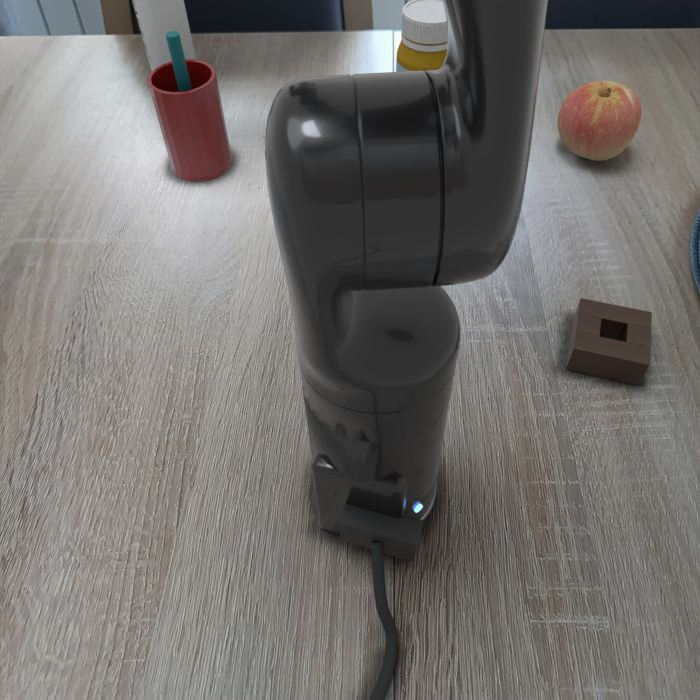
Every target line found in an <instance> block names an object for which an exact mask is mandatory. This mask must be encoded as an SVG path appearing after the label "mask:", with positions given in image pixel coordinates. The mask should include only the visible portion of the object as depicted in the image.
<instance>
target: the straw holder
mask: <svg viewBox="0 0 700 700" xmlns="http://www.w3.org/2000/svg"><path fill="white" fill-rule="evenodd" d="M652 322H653V312H652V311H648V310H643V309H638V308H633V307H628V306H623V305H618V304H613V303H608V302H603V301H598V300H594V299H588V298H583V297H581V298H580V299H579V302H578V304H577V307H576V310H575V313H574V315H573V318H572V322H571V331H570V336H569V337H570V338H569V343H568V352H567V358H566V365H565V370H566V371H571V372H576V373H579V374H585V375H589V376H594V377H597V378H601V379H608V380H611V381H616V382H621V383H625V384H630V385H632V386H633V385H634V386H640V384H641V382H642V380H643V378H644V377H645V375H646V373H647V371H648V369H649V368H650V365H651V350H652V349H651V347H652V326H653V325H652Z"/></svg>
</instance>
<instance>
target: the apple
mask: <svg viewBox="0 0 700 700" xmlns="http://www.w3.org/2000/svg"><path fill="white" fill-rule="evenodd" d="M641 119H642V104H641V100H640V98H639V97H638V95H637V94H636V93H635V92H634V91H633V90H632V89H631V88H630V87H628V86H627V85H624V84H621V83H618V82H616V81H612V80H596V81H591V82H588V83H585V84H583V85H580V86H578V87H577V88H575V89H574V90H572V91H571V92H570V93H569V94H568V95H567V96H566V98H565V99H564V101H563V102H562V104H561V105H560V108H559V112H558V115H557V132H558V135H559V139H560V141H561V142H562V144H563V145H564V147H565V148H566V150H567V149H568V151H570V152H571V153H573V154H574V155H577V157H580V158H583V159H587V160H590V161H597V162H603V161H604V162H605V161H608V160H611V159H613V158H615V157H616V156H618V155H619V154H621V153H622V152H623V151H624V150H625V149H626V148H627V147H628V146H629V145H630V143H631V142H632V140H633V139H634V137H635V135H636V133H637V132H638V129H639V126H640V123H641Z"/></svg>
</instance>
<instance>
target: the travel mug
mask: <svg viewBox="0 0 700 700" xmlns="http://www.w3.org/2000/svg"><path fill="white" fill-rule="evenodd" d="M131 1H132V5H133V8H134V12H135V15H136V20H137V22H138V27H139V30H140V35H141V38H142V41H143V45H144V50H145V53H146V56H147V61H148V64H149V67H150V71H151V72H152V71H153V70H154V69H155V68H157V67H159V66H161V65H163V64H165V63H168V62H171V61H172V60H171V56H170V52H169V48H168V44H167V39H166V33H167V32H169V31H178V32H179V34H180V39H181V43H182V48H183V52H184V56H185V60H186V59H193V60H197V57H196V52H195V47H194V42H193V38H192V34H191V28H190V23H189V19H188V13H187V9H186V4H185V0H131Z"/></svg>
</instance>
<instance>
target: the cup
mask: <svg viewBox="0 0 700 700" xmlns="http://www.w3.org/2000/svg"><path fill="white" fill-rule="evenodd" d="M185 61H186V65H187V70H188V74H189V79H190V83H191V87H192V90H189V91H184V92H179V89H178V85H177V81H176V76H175V72H174V68H173V64H172V61H171V62H168V63H165V64H163V65H161V66H159V67H157V68H155V69H154V70H153V71H151V72H150V73H149V74H148V77H147V84H148V85H147V86H148V88H149V91H150V96H151V99H152V103H153V106H154V109H155V113H156V117H157V121H158V124H159V128H160V131H161V135H162V138H163V142H164V145H165V150H166V152H167V156H168V160H169V163H170V167H171V170H172V172H173V174H174V175H175V176H176V177H178V178H179V179H182V180H184V181H188V182H206V181H209V180H210V181H211V180H213V179H216V178H218V177H220V176H222V175H224V174H225V173H226V172H227V171H228V170H229V169H230V168H231V166H232V164H233V163H232V162H233V158H232V151H231V145H230V140H229V135H228V129H227V125H226V119H225V115H224V109H223V104H222V98H221V94H220V88H219V83H218V78H217V73H216V70H215V68H214V66H212V65H211V64H210V63H208V62H206V61H204V60H199V59H196V60H193V59H186V60H185Z"/></svg>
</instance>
